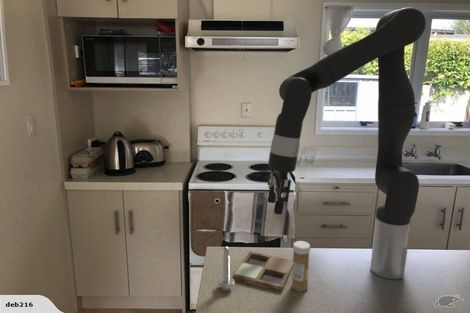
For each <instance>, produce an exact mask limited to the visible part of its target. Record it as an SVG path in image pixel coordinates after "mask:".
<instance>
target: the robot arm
mask: <svg viewBox="0 0 470 313" xmlns="http://www.w3.org/2000/svg"><path fill="white" fill-rule="evenodd" d="M426 22H427V21H426V17H425V15H424V13H423V12H422V11H421V10H419V9H418V8H415V7H410V6H409V7H402V8H399V9H395V10H393V11H390V12H387V13H385V14H383V15H382V16H381V17H380V19H379V20H378V22H377V24H376V27H375V31H373V32H371V33H369V34H367V35H366V36H364V37H362V38H361V39H358V40H356V41H354V42H353V43H352V42H351V43H349V44H348V45H346V46H343V47H341V48H339V49H337V50H335V51H334V52H332V53H330V54H328V55H327V56H324V57H323V58H322V59H320V60H318V61H317V62H315V63H314V64H312V65H311V66H308V67H307V68H304V69H303V70H300V71H298V72H296V73H294V74H293V75H291V76H289V77H287V78H286V79H284V80H283V81H282V82H281V84H280V85H279V89H278V90H279V91H278V94H279V96H280V99H281V100H283V102H282V107H281V111H280V113H279V114H278V115H277V118H276V121H275V127H274V132H273V137H272V139H271V140H272V141H271V145H270V150H269V156H268V163H267V166H268V168H269V169H270V170H269V176H268V180H267V186H268V195H267V202H268V203H269V204H274V208H273V213H274V215H282V214H283V213H284V212H283V211H284V206H285V202H286V203H287V202H289V196H290V190H291V185H292V179H289V177H288V174H289V173H293V172H295V171H296V167H297V161H298V156H299V151H300V144H301V143H300V141H301V136H302V130H303V123H304V120H305V117H306V115H307V112H308V109H309V107H310V105H311V104H310V103H311V99H312V94H313V93H315V92H316V91H319V90H323V89H326V88H329V87H331V86H332V85H333V84H335V83H338V82H339V81H341V80H342V79H344V78H345V77H347V76H349V75H350V74H351V73H354V72H355V71H357V70H358V69H360V68H362V67H364V66H366V65H367V64H369V63H371V62H373V61H375V60H377V67H378V71H377V72H378V73H377V75H378V79H377V80H378V83H377V84H378V86H377V87H378V90H377V91H378V93H377V94H378V95H377V96H378V99H377V121H378V122H377V123H378V124H377V125H378V126H377V154H376V155H377V156H376V162H375V163H376V164H375V165H376V166H375V172H374V180H375V181H374V182H375V185H376V187H377V189H378V190H379V191H380V192H382V193H383V194H385V201H384V204H383V205H379V206H378V207H377V209H376V213H375V220H374V221H375V222H374V231H373V240H372V250H371V259H370V270H371V272H373V274H375V275H376V276H379V277H381V278H383V279H387V280H398V279H399V280H400V279H401V280H405V273H406V265H407V255H408V247H407V246H408V240H409V239H408V238H409V234H410V223H411V219H412V216H413V215H414V213H415V211H416V206H417V201H418V197H419V196H418V195H419V189H420V179H419V178H418V177H419V176H418V175H417V174H416V173H415V172H413V171H412V170H410V169H407V168H405V167H403V166H404V165H403V148H404V144H405V142H406V139H407V137H408V136H409V134H410V131H411V129H412V127H413V125H414V121H415V112H416V111H415V108H416V96H415V91H414V88H413V85H412V83H411V80H410V78H409V76H408V75H409V74H408V73H407V70H406V63H405V52H406V50H405V49H406V48H405V47H407V46H410V45H411V44H414V43H416V42H417V41H419V39H420V38H421V36H423V34H424V32H425V29H426V25H427V23H426Z"/></svg>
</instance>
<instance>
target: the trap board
mask: <svg viewBox="0 0 470 313" xmlns="http://www.w3.org/2000/svg"><path fill="white" fill-rule="evenodd" d="M292 272H293V259H289V258H283V257H279V256H274V255H270V254H265V253H264V254H263V253H260V252H254V251H249V252H248V254H247V255H246V256H245V258H244V259H243V261H242V262H241V263H240V264H239V266H238V267H237V268H236V270H235V272H234V273H233V274H232V278H233V279H234V280H235V281H237V282H241V283H245V284H248V285H253V286H256V287H257V286H258V287H261V288H265V289H269V290H274V291H277V292H280V293H283V292H284V288H285V287H286V284H287V282H288V280H289V277H290V276H291V274H292Z"/></svg>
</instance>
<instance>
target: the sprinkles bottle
mask: <svg viewBox="0 0 470 313" xmlns="http://www.w3.org/2000/svg"><path fill="white" fill-rule="evenodd" d="M292 250H293V257H292V258H293V259H292V260H293V269H292V272H291V274H292V275H291V276H292V277H291V278H292V281H291V282H292V284H291V287H292V289H293V290H294V291H296V292H305V291H306V290H308V289H309V286H308V283H309V282H308V280H309V260H310V251H311V244H310V243H309V242H307V241H304V240H297V241H295V242H293V245H292Z"/></svg>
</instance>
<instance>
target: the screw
mask: <svg viewBox="0 0 470 313" xmlns="http://www.w3.org/2000/svg"><path fill="white" fill-rule="evenodd" d="M229 254H230V252H229V247H228V246H224V247H223V255H222V273H223V274H222V277H220V278H219V279H218V280H217V285H218V286H219V287H220V288H221V290H222V291H224V292H228V291H231V289H232V287H234V286H235V284H236V282H235V281H236V280H234V279H233V277H231V276H230V270H231V269H230V255H229Z"/></svg>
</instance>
